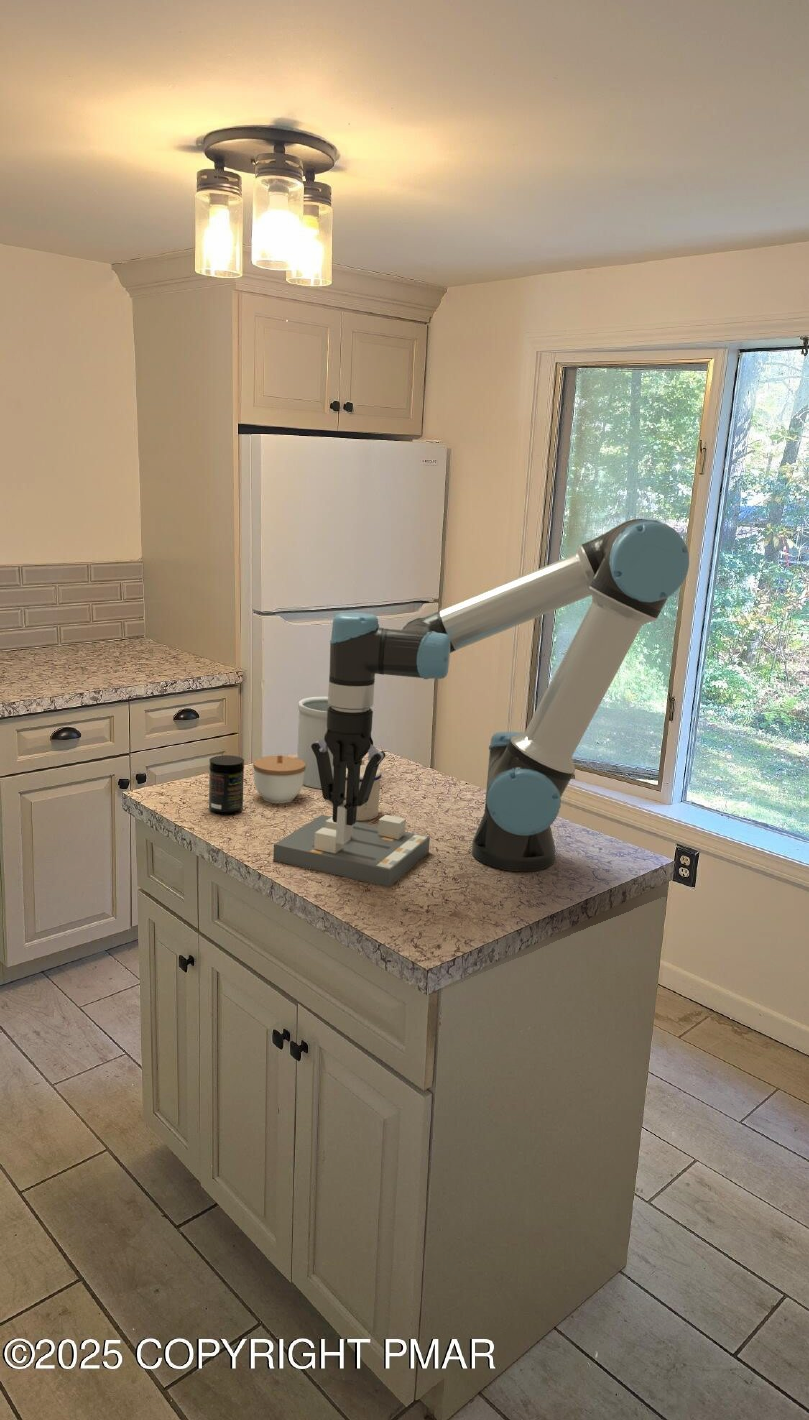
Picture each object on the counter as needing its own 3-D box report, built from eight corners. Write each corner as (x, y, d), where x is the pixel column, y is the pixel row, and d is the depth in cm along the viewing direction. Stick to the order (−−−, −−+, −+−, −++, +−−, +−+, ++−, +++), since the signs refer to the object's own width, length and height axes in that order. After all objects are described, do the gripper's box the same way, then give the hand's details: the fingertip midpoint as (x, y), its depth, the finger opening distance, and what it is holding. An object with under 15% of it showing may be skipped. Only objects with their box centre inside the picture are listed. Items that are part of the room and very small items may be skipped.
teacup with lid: (365, 804, 202) (368, 750, 199) (387, 818, 194) (391, 762, 192) (313, 811, 195) (315, 755, 193) (334, 826, 188) (336, 768, 185)
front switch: (342, 848, 169) (343, 831, 168) (335, 853, 166) (335, 837, 165) (322, 843, 170) (323, 827, 170) (314, 849, 167) (314, 832, 167)
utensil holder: (371, 776, 221) (375, 701, 217) (348, 795, 207) (352, 714, 203) (311, 767, 225) (314, 693, 221) (284, 784, 211) (287, 706, 207)
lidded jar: (242, 795, 202) (243, 752, 200) (286, 788, 209) (287, 745, 207) (270, 810, 195) (271, 765, 192) (314, 802, 201) (316, 758, 199)
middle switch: (352, 836, 175) (353, 820, 174) (344, 841, 172) (345, 825, 171) (332, 832, 176) (333, 816, 175) (324, 837, 173) (325, 821, 173)
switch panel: (428, 852, 178) (429, 836, 177) (389, 887, 161) (390, 869, 161) (321, 829, 186) (322, 814, 185) (273, 860, 169) (273, 843, 169)
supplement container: (249, 808, 195) (250, 758, 192) (232, 818, 189) (233, 767, 186) (219, 803, 197) (220, 753, 195) (201, 812, 191) (202, 761, 189)
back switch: (404, 834, 177) (405, 818, 176) (398, 839, 174) (399, 823, 174) (384, 830, 179) (385, 814, 178) (378, 835, 176) (378, 819, 175)
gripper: (395, 708, 162) (386, 842, 168) (325, 697, 167) (319, 827, 172) (376, 717, 155) (368, 856, 161) (304, 705, 160) (298, 840, 166)
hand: (343, 841), depth 167 cm, fingers closed
